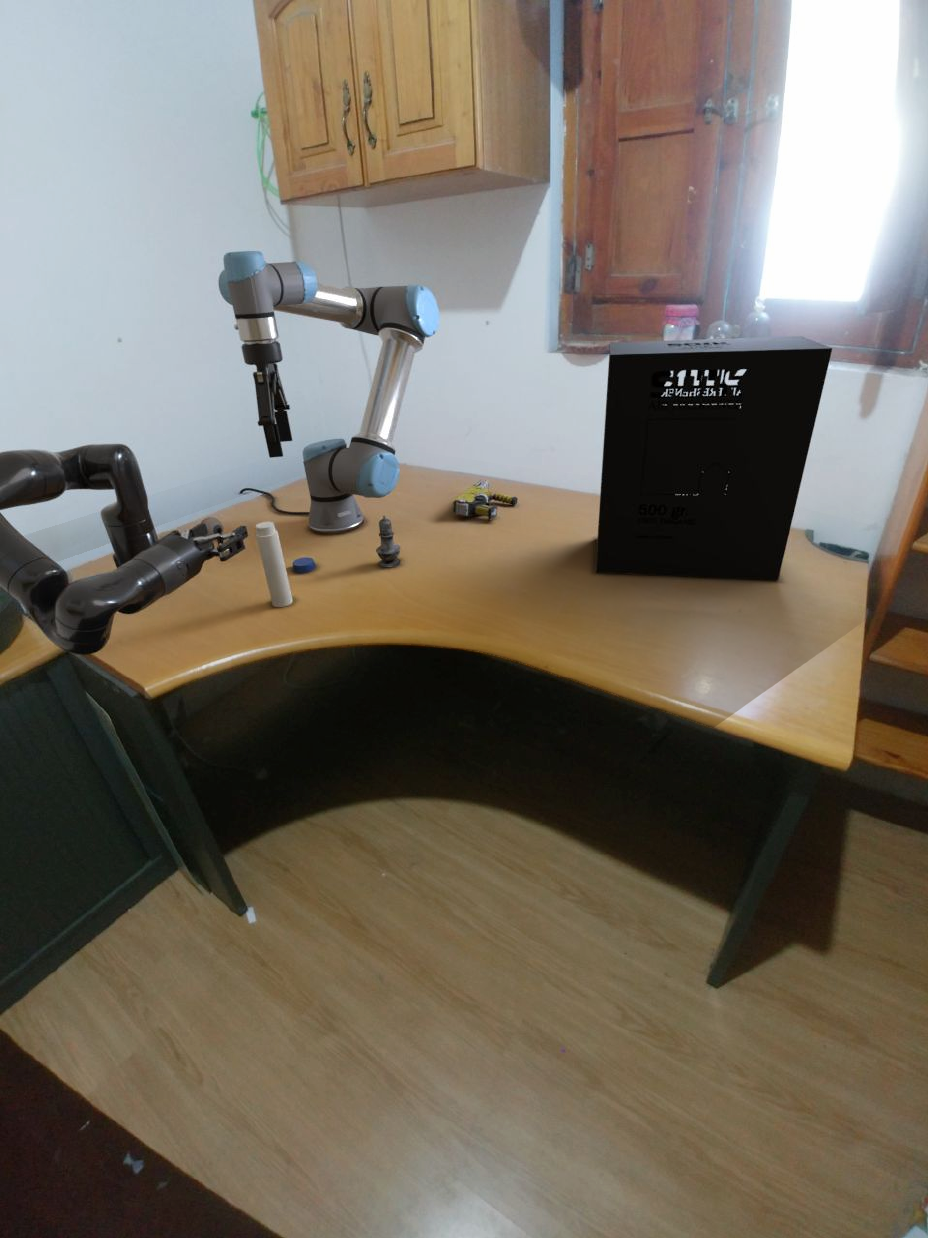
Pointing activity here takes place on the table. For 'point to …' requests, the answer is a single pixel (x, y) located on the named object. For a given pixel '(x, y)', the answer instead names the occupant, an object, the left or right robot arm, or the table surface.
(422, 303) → the right robot arm
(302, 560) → the lid
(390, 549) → the grey upright turned piece
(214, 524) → the eyeball
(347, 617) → the table surface
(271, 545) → the jar
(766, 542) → the cardboard box
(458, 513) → the toy gun
